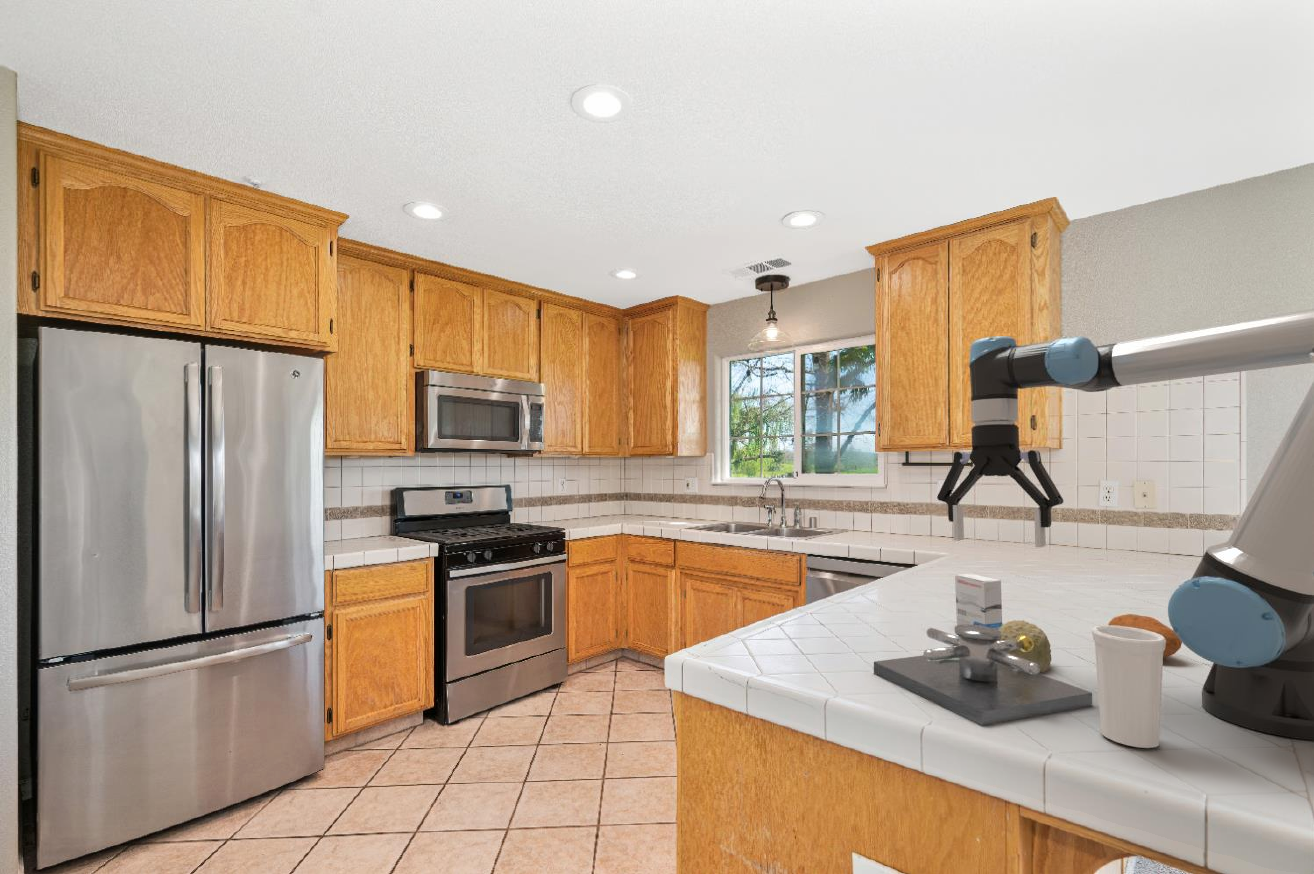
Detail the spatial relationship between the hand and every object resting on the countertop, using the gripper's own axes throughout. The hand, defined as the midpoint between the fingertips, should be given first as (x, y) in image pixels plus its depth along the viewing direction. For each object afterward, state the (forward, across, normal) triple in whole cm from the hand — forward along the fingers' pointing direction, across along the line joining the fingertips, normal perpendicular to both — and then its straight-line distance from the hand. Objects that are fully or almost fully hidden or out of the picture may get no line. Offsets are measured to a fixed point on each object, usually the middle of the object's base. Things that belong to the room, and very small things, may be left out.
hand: (997, 543), depth 113 cm
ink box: (+22, +13, -25) cm, 36 cm away
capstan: (+20, -1, +12) cm, 24 cm away
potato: (+23, -15, -31) cm, 41 cm away
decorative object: (+23, -1, -7) cm, 24 cm away
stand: (+23, -1, +12) cm, 26 cm away
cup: (+23, -22, +16) cm, 36 cm away
